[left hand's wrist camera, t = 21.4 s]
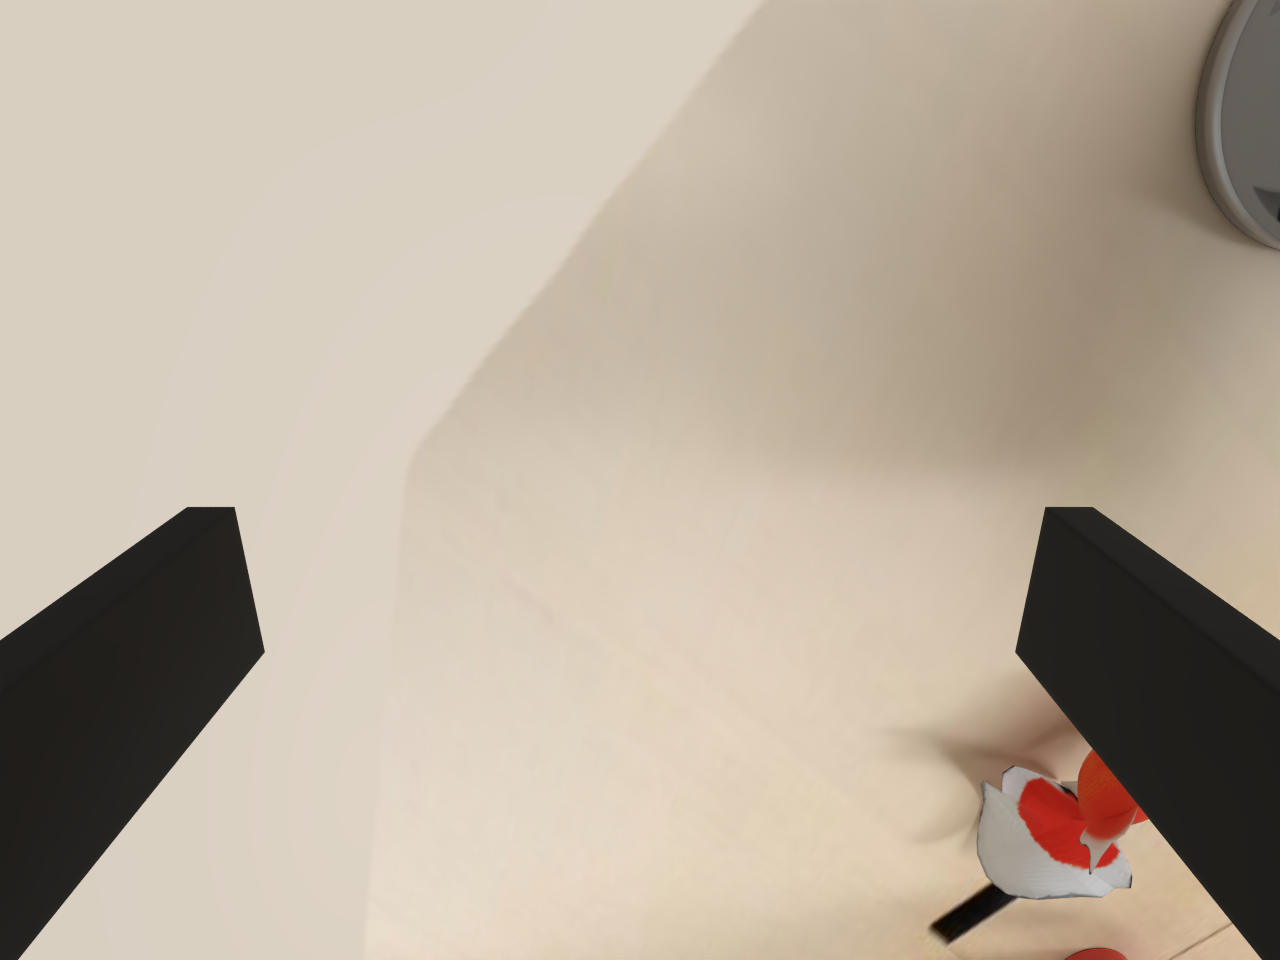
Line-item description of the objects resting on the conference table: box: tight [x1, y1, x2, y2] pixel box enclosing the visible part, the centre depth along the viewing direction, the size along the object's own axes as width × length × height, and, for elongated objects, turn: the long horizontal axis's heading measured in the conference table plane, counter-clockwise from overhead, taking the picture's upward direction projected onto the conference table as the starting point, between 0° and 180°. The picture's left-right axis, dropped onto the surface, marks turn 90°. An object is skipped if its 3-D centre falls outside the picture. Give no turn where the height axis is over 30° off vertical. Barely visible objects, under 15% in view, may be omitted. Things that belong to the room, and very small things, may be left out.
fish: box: [977, 750, 1149, 900], centre depth 45 cm, size 11×16×10 cm
